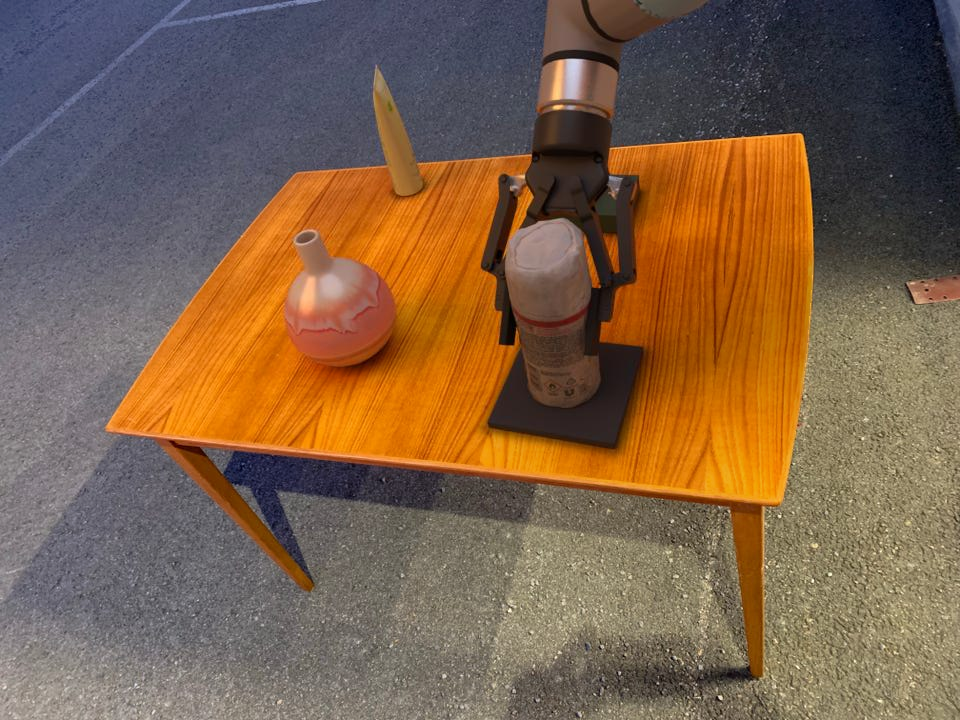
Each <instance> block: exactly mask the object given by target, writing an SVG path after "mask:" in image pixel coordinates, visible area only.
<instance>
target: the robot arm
mask: <svg viewBox="0 0 960 720" xmlns="http://www.w3.org/2000/svg"><path fill="white" fill-rule="evenodd" d="M709 1H710V0H547V6H546V7H547V8H546V16H545V17H546V18H545V28H544V37H543V38H544V39H543V49H542V58H541V70H540V77H539V84H538V92H537V94H538V95H537V102H536V111H537V113H538V114H539V115H538V116H537V118H536V119H535V121H534V130H533V138H532V147H531V161H530V164H529V166H528V168H527V169H526V171H525V173H520V174H514V175H509V174H507V173H501V174H500V175H499V176H498V178H497V184H498V185H497V186H498V199H497V203H496V207H495V210H494V214H493V217H492V222H491V225H490V228H489V232H488V235H487V239H486V242H485V247H484V249H483V254H482V258H481V261H480V269H481V270H482V271H484V272H487V273H488V274H490V275H492V276H494V277H495V279H496V289H495V297H494V309H495V312H501V318H500V319H501V320H500V327H499V335H498V336H499V338H498V344H497V345H499V346H505V347H506V346H507V347H508V346H511V347H512V346H513V347H514V346H515V345H516V337H517V325H516V321H515V317H514V314H513V310H512V306H511V301H510V296H509V290H508V285H507V280H506V273H505V260H506V252H505V251H506V250H507V243H508V241H509V239H510V238H509V237H510V234H511V230H512V227H513V224H514V220H515V217H516V212H517V209H518V206H519V205H518V204H519V198H521V197H522V196H523V194H524V190H525V188H526V187H528V190H529V191H530V193H531V195H532V196H533V197H534V198H532V199H533V200H532V199H531V201H532V202H531V201H530V203H529V205H528V207H527V209H526V211H527V213H526V212H525V217H524V218H523V221H522V223H521V225H520V226H519V228H518V230H519V229H521V228H527V227H529V226H532V225H534V224H536V223H537V222H538V221H548V219H549V218H550V216H551V215H554V216H559V215H564V214H568V215H571V216H576V217H579V218H580V221H581V222H582V225H583V229H584V231H583V232H584V235H585V239H586V241H587V245H588V247H589V252H590V255H591V258H592V261H593V264H594V267H595V272H596V274H597V278H598V280H599V282H598V285H599V286H600V287H594V286H592V287H591V298H590V304H589V313H588V321H587V330H586V338H585V347H584V355H586V356H598V349H599V342H601V341H600V340H601V331H602V323H609V324H611V321H612V320H613V318H614V310H615V302H616V293H617V291H618V290H619V289H620V288H621V287H625V286H629V285H635V283H637V280H638V269H637V250H636V233H635V217H634V215H635V214H634V210H633V205H634V202H635V199H636V195H637V192H638V185H637V183H636V182H635V181H634V180H633V179H632V177H629V176H627V177H624V178H619V177H614V176H611V175H610V174H611V173H610V170H609V158H610V151H611V144H612V143H611V142H612V135H613V134H612V133H613V124H612V123H611V121H610V120H611V119H612V118H613V117H614V114H615V108H616V101H617V100H616V99H617V93H618V92H617V91H618V82H619V74H620V63H621V56H622V51H623V44H625V43H628V42H630V41H632V40H634V39H637V38H638V37H639V36H642V35H643V34H645V33H647V32H649V31H652V30H654V29H656V28H659V27H660V26H663V25H665V24H667V23H669V22H671V21H673V20H675V19H680V18H683V17H686V16H688V15H689V14H690V13H692V12H694V11H696V10H697V9H700V8H701V7H703V6H704V5H706V3H708V2H709ZM608 188H611V191H612V192H611V195H612V197H613V198H614V199H615V200H616V221H617V233H616V235H617V237H616V238H617V254H618V255H617V256H618V257H617V258H618V272H615V269H614V266H613V263H612V259H611V256H610V253H609V250H608V246H607V242H606V239H605V237H604V232H602V230H601V226H600V223H599V217H598V214H597V210H596V207H595V203H596V202H597V201H598V200H599V198H600V197H601V196H602V195H603V194H604V193H605V191H606V190H607V189H608Z"/></svg>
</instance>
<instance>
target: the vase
mask: <svg viewBox="0 0 960 720" xmlns="http://www.w3.org/2000/svg"><path fill="white" fill-rule="evenodd" d="M292 241H293V243H292V244H293V245H294V247H295V250H296V252H297V255H298V257H299V258H300V261H301V263H302V265H303V269H302V270H301V271H300V272H299V273H298V275H297V276H296V277H295V278H294V280H293V281H292V283H291V285H290V286H289V288H288V290H287V293H286V296H285V299H284V304H283V305H284V306H283V318H284V320H283V321H284V326H285V329H286V332H287V335H288V337H289V339H290V341H291V342H292V344H293V345H294V347H295V348H296V350H297V351H298V352H299V353H301V355H303V356H304V357H305V358H306V359H308V360H311V362H314V363H315V364H320V365H322V366H327V367H332V368H333V367H337V368H341V367H349V366H356V365H359V364H362V363H365V362H367V361H368V360H369V359H371V358H372V357H374V356H375V355H376V354H377V353H378V352H379V351H381V350H382V349H383V347H384V346H385V345H386V344H387V343H388V341H389V339H390V338H391V336H392V334H393V331H394V329H395V326H396V321H397V316H398V315H397V304H396V301H395V297H394V294H393V292H392V290H391V288H390V286H389V284H388V283H387V281H386V280H385V279H384V278H383V276H382V275H381V274H379V272H378V271H376V270H375V269H374V268H372V267H371V266H369V265H368V264H366V263H363V262H361V261H359V260H356V259H352V258H349V257H339V256H336V257H335V256H334V257H333V256H332V257H331V256H330V255H331V254H330V253H329V251H328V248H327V246H326V244H325V242H324V240H323V238H322V236H321V234H320V232H319V231H318V230H317V229H313V228H309V229H305V230H303V231H301V232H298V233H297V234H296V235H295V236H294V238H293V239H292Z"/></svg>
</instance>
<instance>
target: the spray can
mask: <svg viewBox="0 0 960 720" xmlns="http://www.w3.org/2000/svg"><path fill="white" fill-rule="evenodd" d="M505 254H506V260H505V273H506V280H507V285H508V290H509V296H510V301H511V306H512V310H513V314H514V317H515V321H516V325H517V329H516V332H517V333H518V341H519V343H520V348H522V352H523V356H524V360H525V370H526V374H527V378H528V384H527V386H528V388H529V391H530V392H531V394H532V396H533V397H534V399H535V400H537V401H538V402H541V404H542V403H543V404H544V405H548V406H554V407H562V408H565V407H566V408H570V407H575V406H577V405H579V404H581V403H584V402H586V401H588V400H589V399H590V398H592V396H593V394H595V392H596V391H597V389H598V387H599V385H600V382H601V375H600V371H599V356H586V355H584V347H585V338H586V330H587V321H588V313H589V304H590V298H591V287H593V281H592V276H591V271H590V267H589V266H590V265H589V261H588V257H587V253H586V246H585V239H584V235H583V231H581V230H580V229H579V228H578V227H577V226H575V225H574V224H573V223H572V222H570V221H569V220H568V219H565V218H559V219H554V220H548V221H538V222H537V223H536V224H534V225H532V226H529V227H527V228H521V229H519V228H518V229H517V230H515V231H514V233H513V235H512V236H511V237H510V238H508V241H507V245H506V252H505ZM562 408H561V409H562Z"/></svg>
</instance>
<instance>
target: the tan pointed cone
mask: <svg viewBox="0 0 960 720" xmlns="http://www.w3.org/2000/svg"><path fill="white" fill-rule="evenodd" d="M372 85H373V86H372V87H373V92H372V95H373V97H372V100H373V108H374V113H375V119H376V125H377V129H378V134H379V139H380V143H381V147H382V150H383V155H384V158H385V162H386V167H387V168H388V169H387V171H388V174H389V177H390V180H391V183H392V186H393V190H394V193H395V194H397V195H398V196H401V197H406V196H408V197H409V196H412V195H415V194H417V193H418V192H420V191H421V190H422V189H423V187H424V181H423V178H422V176H421V172H420V167H419V165H418V162H417V159H416V156H415V153H414V150H413V148H412V144H411V142H410V139H409V136H408V133H407V130H406V127H405V125H404V122H403V120H402V117H401V115H400V113H399V110H398V108H397V105H396V103H395V100H394V98H393V96H392V94H391V91H390V88H389V86H388V84H387V82H386V80H385V78H384V76H383V74H382V73H381V71H380V69H379V67H378V64H375V69H374V78H373V84H372Z"/></svg>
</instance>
